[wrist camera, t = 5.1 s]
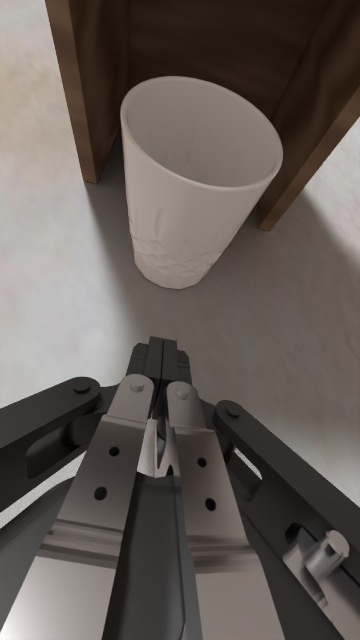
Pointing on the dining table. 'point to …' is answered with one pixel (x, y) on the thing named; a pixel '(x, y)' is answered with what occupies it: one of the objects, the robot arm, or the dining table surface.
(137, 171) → the white cup
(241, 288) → the dining table surface
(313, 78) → the wooden step stool
